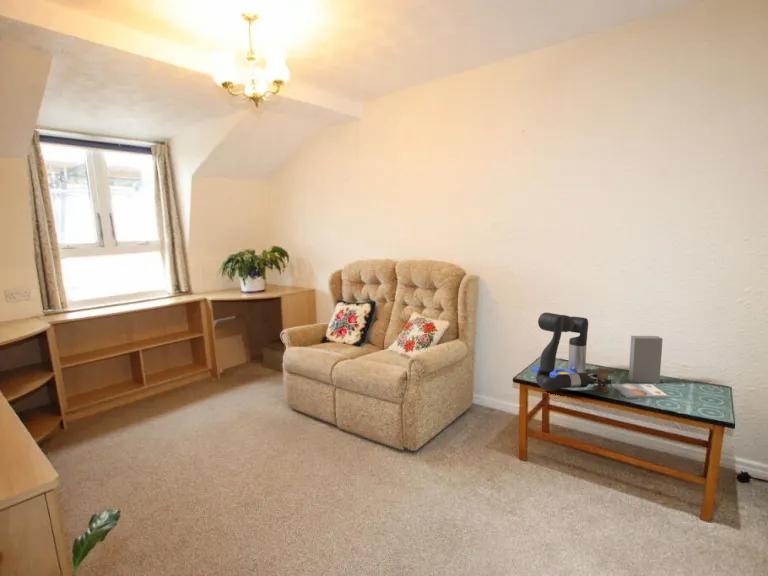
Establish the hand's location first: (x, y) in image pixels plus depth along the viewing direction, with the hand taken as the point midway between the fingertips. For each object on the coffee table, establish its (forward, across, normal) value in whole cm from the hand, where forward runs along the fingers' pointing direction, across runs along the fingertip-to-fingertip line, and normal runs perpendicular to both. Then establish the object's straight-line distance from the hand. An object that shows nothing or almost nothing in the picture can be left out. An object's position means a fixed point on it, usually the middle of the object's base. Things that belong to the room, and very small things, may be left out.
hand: (606, 378), depth 216 cm
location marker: (-15, +26, +7) cm, 31 cm away
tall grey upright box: (+28, +10, +7) cm, 31 cm away
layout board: (+16, -4, +6) cm, 17 cm away
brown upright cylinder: (-2, 0, +6) cm, 7 cm away
